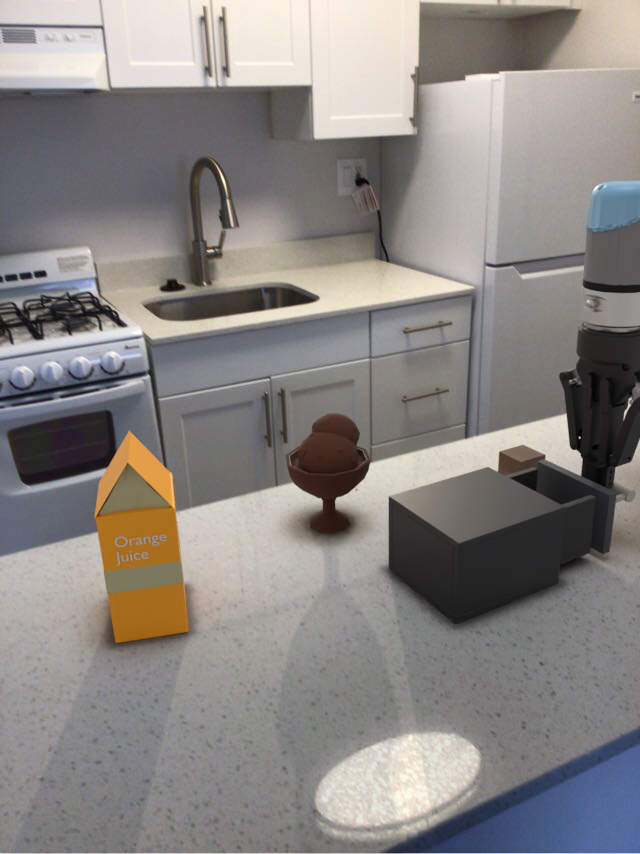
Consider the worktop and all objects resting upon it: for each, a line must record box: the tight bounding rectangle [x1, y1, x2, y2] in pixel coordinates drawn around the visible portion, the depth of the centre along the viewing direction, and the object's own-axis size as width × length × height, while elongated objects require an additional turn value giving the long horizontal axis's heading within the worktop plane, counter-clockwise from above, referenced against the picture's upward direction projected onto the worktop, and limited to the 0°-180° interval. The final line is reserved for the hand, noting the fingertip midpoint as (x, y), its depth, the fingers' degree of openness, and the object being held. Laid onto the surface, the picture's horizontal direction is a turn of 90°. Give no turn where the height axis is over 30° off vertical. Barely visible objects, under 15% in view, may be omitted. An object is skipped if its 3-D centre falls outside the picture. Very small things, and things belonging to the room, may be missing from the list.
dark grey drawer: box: [506, 458, 637, 565], centre depth 91 cm, size 20×11×8 cm, turn 119°
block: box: [497, 444, 546, 476], centre depth 109 cm, size 5×5×5 cm
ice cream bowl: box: [284, 412, 372, 534], centre depth 98 cm, size 11×11×15 cm
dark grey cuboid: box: [388, 466, 565, 624], centre depth 86 cm, size 15×13×10 cm
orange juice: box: [93, 429, 190, 644], centre depth 79 cm, size 8×9×20 cm
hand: (594, 508), depth 95 cm, fingers closed
